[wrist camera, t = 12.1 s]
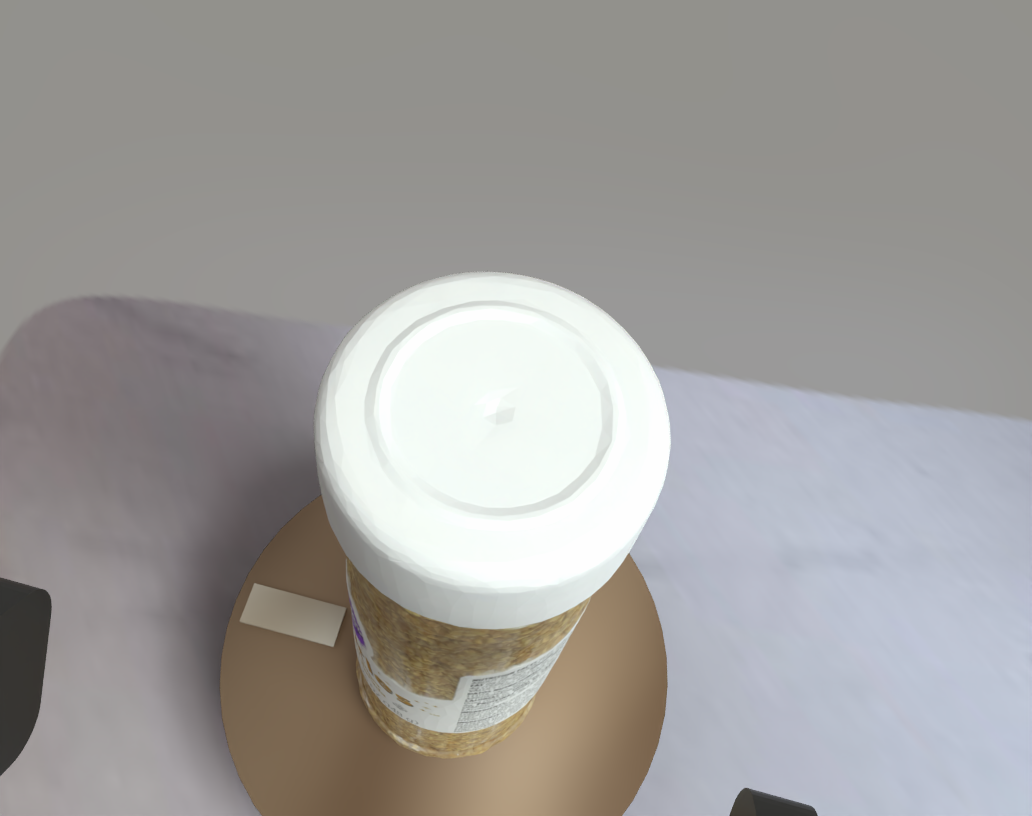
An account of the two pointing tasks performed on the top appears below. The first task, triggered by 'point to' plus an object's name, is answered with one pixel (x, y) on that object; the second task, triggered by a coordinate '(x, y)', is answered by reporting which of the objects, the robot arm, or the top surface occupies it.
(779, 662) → the top surface
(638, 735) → the disc
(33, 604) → the robot arm
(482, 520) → the sprinkles bottle
